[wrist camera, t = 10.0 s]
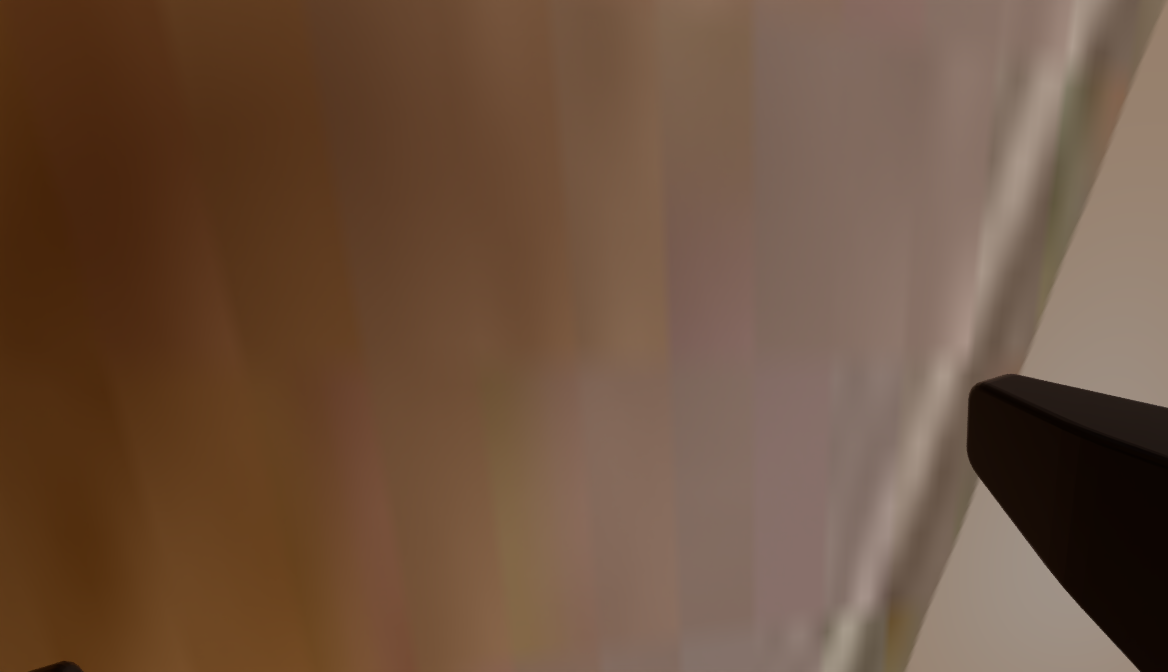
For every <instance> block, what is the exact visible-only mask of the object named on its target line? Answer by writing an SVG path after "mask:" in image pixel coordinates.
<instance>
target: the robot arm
mask: <svg viewBox="0 0 1168 672" xmlns="http://www.w3.org/2000/svg"><path fill="white" fill-rule="evenodd" d="M967 454H968V458H969V461H970V464H971V465H972V467H973V469H974V471H975V472H976V474H977V475H978V477H979V478H980V479H981V481H982V482H983V483H984V484H985V486H986V487H987V488H988V490H989V491H990V492H991V494H992V495H993V496H994V498H995V499H996V500H997V502H998V503H999V504H1000V506H1001V507H1002V508H1003V510H1004V511H1005V512H1006V514H1007V515H1008V516H1009V518H1010V519H1011V520H1012V522H1013V523H1014V524H1015V526H1017V528H1018V529H1019V531H1020V532H1021V533H1022V535H1023V536H1024V537H1025V539H1026V540H1027V541H1028V543H1029V544H1030V545H1031V547H1032V548H1033V549H1034V551H1035V552H1036V553H1037V555H1038V556H1039V557H1040V559H1041V560H1042V561H1043V563H1044V564H1045V565H1046V566H1047V568H1048V569H1049V570H1050V571H1051V573H1052V574H1053V575H1054V576H1055V578H1056V579H1057V580H1058V581H1059V583H1060V584H1061V585H1062V586H1063V588H1064V589H1065V590H1066V591H1067V592H1068V593H1069V594H1070V596H1071V597H1072V598H1073V599H1074V600H1075V601H1076V602H1077V603H1078V605H1079V606H1080V607H1081V608H1082V609H1083V610H1084V611H1085V612H1086V613H1087V614H1088V616H1089V617H1090V618H1091V619H1092V620H1093V621H1094V622H1095V623H1096V624H1097V625H1098V626H1099V627H1100V629H1102V631H1103V632H1104V633H1105V634H1106V635H1107V636H1108V637H1109V638H1110V639H1111V640H1112V641H1113V643H1114V644H1115V645H1116V646H1117V647H1118V648H1119V649H1120V650H1121V651H1122V652H1123V653H1124V655H1125V656H1126V657H1127V658H1128V659H1129V660H1130V661H1131V662H1132V663H1133V664H1134V665H1135V666H1136V668H1137V669H1138V670H1139V671H1140V672H1168V408H1166V407H1162V406H1157V405H1153V404H1148V403H1144V402H1139V401H1134V400H1130V399H1125V398H1121V397H1116V396H1111V395H1107V394H1103V393H1098V392H1093V391H1089V390H1085V389H1080V388H1076V387H1071V386H1067V385H1061V384H1057V383H1053V382H1048V381H1044V380H1039V379H1035V378H1030V377H1026V376H1021V375H1017V374H1005V375H1002V376H998V377H995V378H992V379H989V380H985V381H982V382H979V383H977V384H976V385H974V386H973V387H972V389H971V391H970V393H969V399H968V423H967ZM29 672H83V671H82V669H81V668H80V667H79V666H78V665H76V664H75V663H73V662H69V661H62V662H58V663H55V664H52V665H48V666H45V667H42V668H38V669H35V670H32V671H29Z"/></svg>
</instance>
